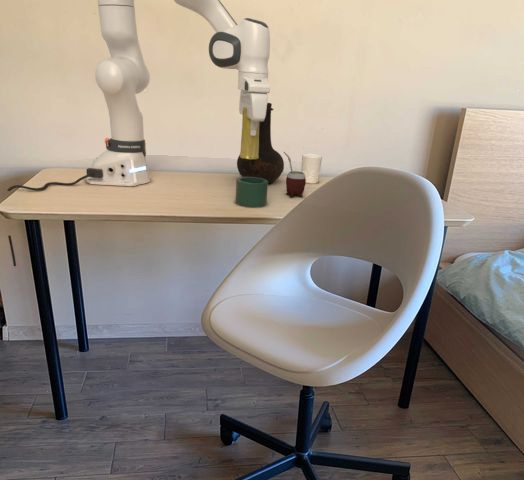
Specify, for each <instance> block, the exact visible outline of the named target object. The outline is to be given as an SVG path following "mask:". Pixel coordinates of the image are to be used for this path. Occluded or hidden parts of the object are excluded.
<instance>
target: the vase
mask: <svg viewBox="0 0 524 480" xmlns="http://www.w3.org/2000/svg"><path fill="white" fill-rule="evenodd" d="M250 122H251V119H249V118H247V109H245V108H243V115H242V119H241V137H240V138H241V139H240V153H239V155H240V158H243V159H258V158H259V155H258V153H259V121H258V127H257V131H256V135H255V136H252V135H250V127H251V123H250Z"/></svg>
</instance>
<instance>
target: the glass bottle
mask: <svg viewBox="0 0 524 480" xmlns="http://www.w3.org/2000/svg"><path fill="white" fill-rule="evenodd" d="M272 105H273V103H271V102H267V109H266V116H265V119H264V121H259V153H258V155H259V158H258V159H243V158H240V154H239V155H238V157H237V160H236V168H237V171H238V173H239V175H240V177H258V178H263V179H266V180H267V181H268V185H269V184H273V183H274V182H275V181H277V180H278V179H279V178H280V176H281V175H282V174H283V172H284V169H285V161H284V158H283V156H282V155H281V154H280V153H279V151H277V150H275V148H274V147H273V145H272V133H271V132H272V131H271V130H272V129H271V127H272V126H271V125H272V111H274V108H273V106H272Z"/></svg>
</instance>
